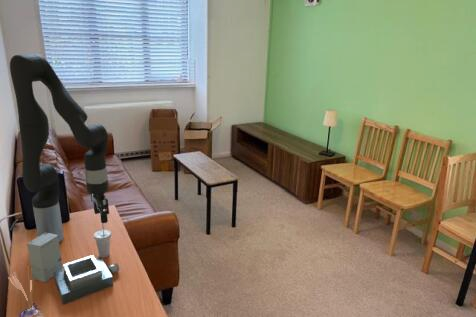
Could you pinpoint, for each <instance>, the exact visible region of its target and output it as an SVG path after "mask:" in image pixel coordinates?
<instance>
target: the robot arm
mask: <svg viewBox="0 0 476 317" xmlns="http://www.w3.org/2000/svg"><path fill="white" fill-rule="evenodd" d="M9 71H10V72H9V73H10V76H11V77H10V78H11V81H12V85H13V90H14V94H15V99H16V106H17V107H16V108H17V112H18V113H17V115H18V125H19V126H18V127H19V133H20V134H19V135H20V140H21V153H22V168H21V169H22V175H21V176H22V180H23V185H24V187H25V188H26V190H28V192H31V193H36V194H35V195H33V197H32V199H31V204H32V209H33V215H34V220H35V225H36V226H35V228H36V232H37V237H38V236H41V235H42V234H44V233H46V232H47V233H51V234H56V235H58V239H59V243H61V242H62V241H63V240H64V230H63V222H62V216H61V214H62V213H61V209H60V203H59V202H60V201H59V198H60V182H59V180H60V179H59V174H58V172H57V170H56V168H55V167H54V166H53V165H52V164H50V163H41V164H40V162H41V156H42V154H43V151H44V149H45V147H46V145H47V143H48V140H49V136H50V129H49V128H50V127H49V118H48V116H47V113H46V112H45V111H44V109H43V108H42V107H41V105H40V104H39V103H38V101H37V99H36V97H35V95H34V90H33V87H34V86H33V83H34V82H41V83H42V84H43V85H44V86H45V87H46V88H47V89H48V90H49V92H50V95H51V99H52V104H53V107H54V109H55V111H56V112H57V113H58V115H59V116H60V118H62V119H63V121H65V123H67V125H68V127H69V129H70V132H71V133H72V135H73V137H74V138H75V140H76V141H75V142H77V143H78V144H79V145H80V146H81V147H83V148H86V149H89V150H88V151H86V152H85V153H84V155H83V159H84V170H85V171H84V172H85V173H84V175H85V176H84V177H85V184H86V190H87V193H88V194H90V200H91V202H92V205H93V211H94V212H93V213H94V214H95V215H98V214H99V215H100V222H101V225H102V224H107V223H108V222H109V219H108V215H110V209H109V200H108V198H107V196H106V195H105V193H107V192H108V191H109V189H110V186H109V176H108V169H107V161H106V152H107V148H108V142H109V139H108V138H109V135H108V132H107V129H106V127H105V126H103V125H102V124H101V123H100V124H99V123H95V124H91V125H88V126H87V125H86V124H85V123H86V122H87V120H88V115H87V113H86V112H85V111H84V109H83V108H82V107H81V106H80V105H79V103H78V102H76V101H75V99H74V98H73V97H72V96H71V94H70V93H69V91H68V90H67V89H66V87H65V86H64V84H63V82H62V81H61V79H60V77H59V76H58V75H57V73H56V71H55V70H54V67H52V66H51V64H50V63H49V61H48V60H47V59H46V58H45V57H44V56H43V55H41V54H38V53H37V54H36V53H29V54H15V55H13V56H12V57H11V58H10V61H9Z"/></svg>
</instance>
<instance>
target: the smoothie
mask: <svg viewBox="0 0 476 317" xmlns="http://www.w3.org/2000/svg"><path fill="white" fill-rule="evenodd" d="M101 226H102V229H100V230H97V231H96V232H94V234H93V239H94V241H95V243H96V247H97V250H98V256H99V258H100V257H101V258H107V257H109V256H110V248H111V237H112V231H110V230H109V229H105V223H103V224H102V223H101Z"/></svg>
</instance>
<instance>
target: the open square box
mask: <svg viewBox="0 0 476 317" xmlns="http://www.w3.org/2000/svg"><path fill="white" fill-rule="evenodd" d="M62 267H63V269H62V270H60V271H57V272H54V276H53V277H54V282H55V285H56V288H57V290H58V294H59V296H60V299H61V301H62V302H61V303H62V304H63V305H66V304H69V303H72V302H74V301H76V300H80V299H82V298H85V297H87V296H89V295H92V294H95V293H97V292H100V291H103V290H105V289H108V288H110V287H111V288H112V287H113V286H114V280H113V275H112V274H115V273H117V272H119V271H120V266H119V264H118V263H117V262H116V263H112V264H110V265H106V263H105V261H104V259H103V257H100V256H99V257H96V258H95V256H94V254H93V255H89V256H85V257H83V258H79V259H77V260H76V259H75V260H73V261H70V262H67V263H64V264H63V263H62Z"/></svg>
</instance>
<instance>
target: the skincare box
mask: <svg viewBox="0 0 476 317" xmlns="http://www.w3.org/2000/svg"><path fill="white" fill-rule="evenodd" d="M26 246H27V252H28V257H29V264H30V268H31V274H32V278H34V280H36V281H38V282H42V283H45V284H46V283H47V282H48V281H49V280H51V279H52V278H53V277H54V272H57V271H60V270H63V269H64V268H63V262H62V261H63V260H62V254H61V247H60V242H59V239H58V235H56V234H51V233H47V232H46V233H44V234H42V235H41V236H38V235H37V237H35V238H34V239H32V240H30V241H29V242H27V243H26Z"/></svg>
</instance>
